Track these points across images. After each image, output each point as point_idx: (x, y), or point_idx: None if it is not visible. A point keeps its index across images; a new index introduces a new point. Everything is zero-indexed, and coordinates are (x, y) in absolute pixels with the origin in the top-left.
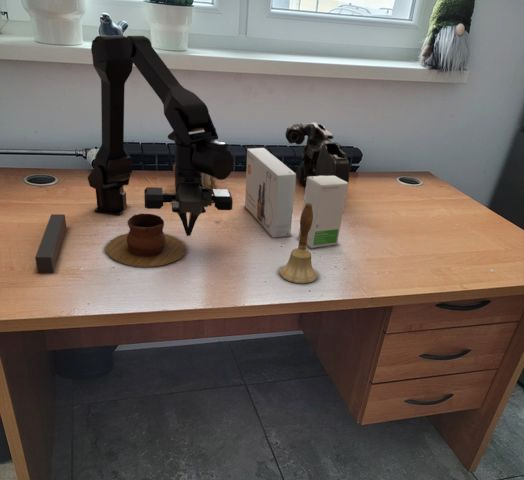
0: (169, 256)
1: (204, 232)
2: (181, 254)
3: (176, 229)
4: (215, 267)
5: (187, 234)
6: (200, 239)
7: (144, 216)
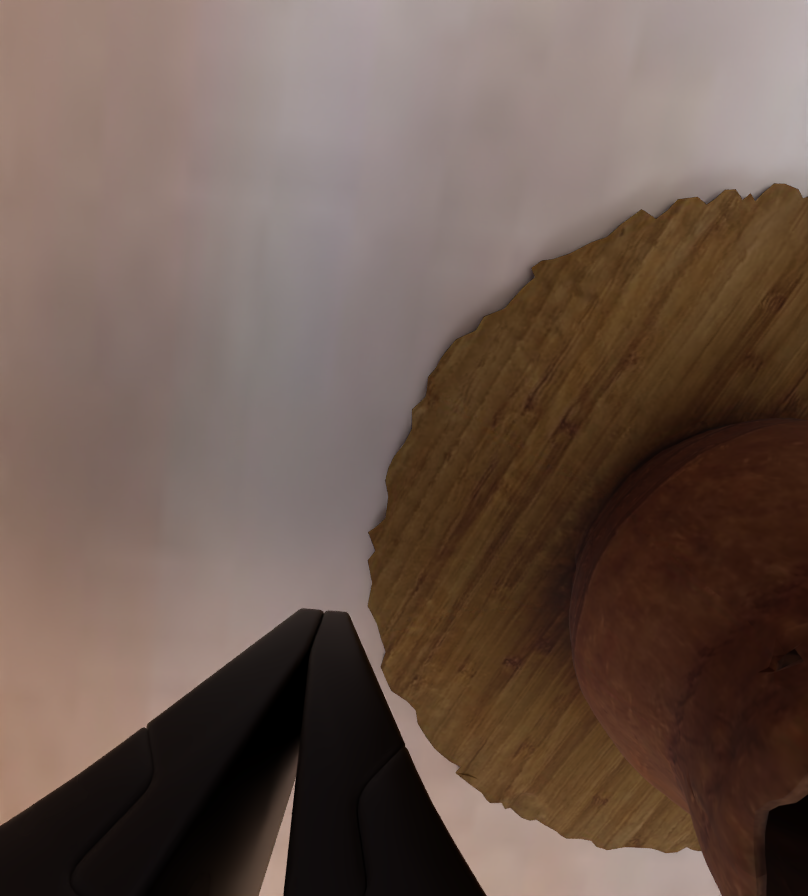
0: (551, 401)
1: None
2: (429, 429)
3: None
4: (110, 111)
5: (334, 618)
6: None
7: None
